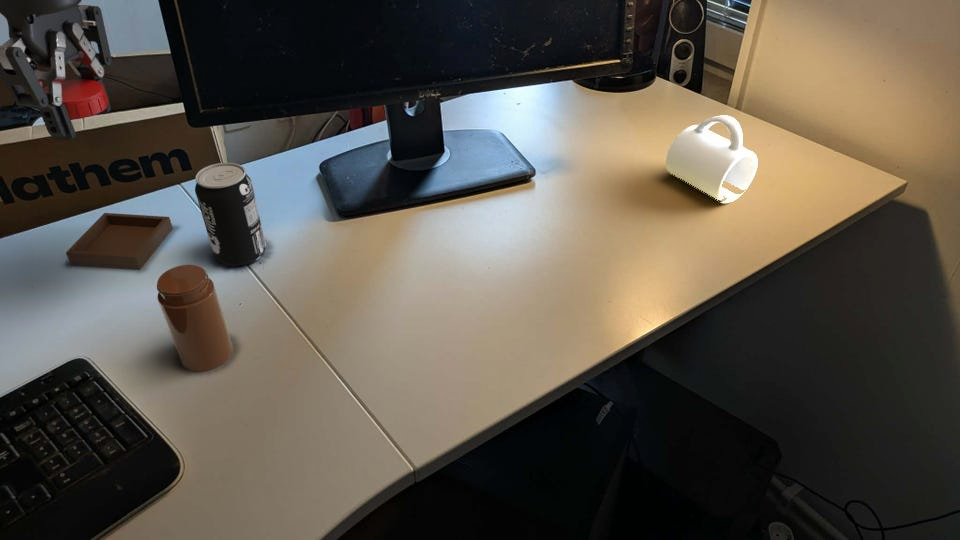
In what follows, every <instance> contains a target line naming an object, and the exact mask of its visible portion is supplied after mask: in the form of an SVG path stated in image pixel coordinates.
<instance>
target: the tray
mask: <svg viewBox="0 0 960 540" xmlns="http://www.w3.org/2000/svg"><path fill="white" fill-rule="evenodd" d="M173 230H174V226H173V224H172V221H171V218H170V216H163V215H148V214H147V215H146V214H129V213H114V212H112V213H111V212H104V213H102V214H101V216H99V218H98V219H96V221H94V222H93V224H92V225H91V226H90V227H89V228H88V229H87V230H86V231H85V232H84V233H83V234H82V235H81V236H80V237H79V238H78V239H77V240H76V241H75V243H74V244H72V245H71V246H70V247H69V248H68V249H67V251H66V252H65V254H66V256H67V259H68V261H69V263H70V265H71V266H81V267H95V268H109V269H110V268H112V269H122V270H123V269H124V270H125V269H126V270H138V271H139V270H142V268H143V267H144V266H145V265H146V263H147V262H148V261H149V260H150V259H151V257H152V256H153V255H154V254H155V253H156V251H157V250H158V249H159V247H160V246H161V245H162V244H163V243H164V241H165V240H166V239H167V237H168V236H169V235H170V234H171V232H172V231H173Z"/></svg>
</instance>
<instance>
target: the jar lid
mask: <svg viewBox="0 0 960 540" xmlns="http://www.w3.org/2000/svg"><path fill="white" fill-rule="evenodd" d="M61 88H62V103H65V106H66V109H67V111H68V114H69V117H70V119H71V121H73V120H81V119H82V120H83V119H85V118H90V117H93V116H95V115H99V114H101V113H100V112H102V111H103V110H105V109H106V108H107V106H108V98H107V95H106V92H105V90H104V88H103V86H102V84H101V83H99V82H97V81H94V80H87V79H79V78H77V79H68V80H67V79H65V80H64V81H62V83H61ZM43 90H44V92H46V93H49V92H48V85H46V86H44V87H43Z"/></svg>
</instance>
